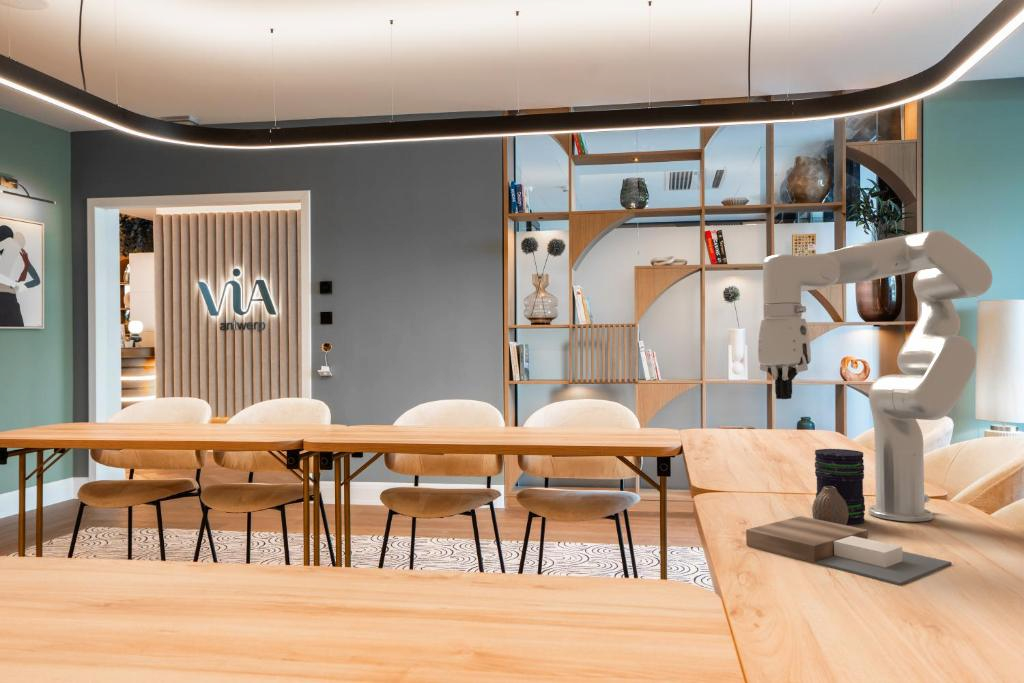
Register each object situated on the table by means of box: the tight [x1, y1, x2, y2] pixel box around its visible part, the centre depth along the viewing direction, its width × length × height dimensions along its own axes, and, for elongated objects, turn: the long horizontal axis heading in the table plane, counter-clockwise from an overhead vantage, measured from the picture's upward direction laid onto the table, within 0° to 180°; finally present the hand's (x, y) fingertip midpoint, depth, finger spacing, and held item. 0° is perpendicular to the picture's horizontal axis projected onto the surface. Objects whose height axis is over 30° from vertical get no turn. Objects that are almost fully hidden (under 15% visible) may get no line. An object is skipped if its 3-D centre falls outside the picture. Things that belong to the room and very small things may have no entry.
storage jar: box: [814, 448, 866, 527], centre depth 151 cm, size 10×10×15 cm
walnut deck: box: [745, 515, 869, 564], centre depth 131 cm, size 18×14×3 cm
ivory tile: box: [834, 536, 903, 567], centre depth 122 cm, size 6×9×2 cm, turn 35°
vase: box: [811, 486, 849, 526], centre depth 143 cm, size 7×7×9 cm
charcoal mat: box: [816, 550, 952, 586], centre depth 119 cm, size 18×14×1 cm
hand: (783, 398), depth 147 cm, fingers closed
